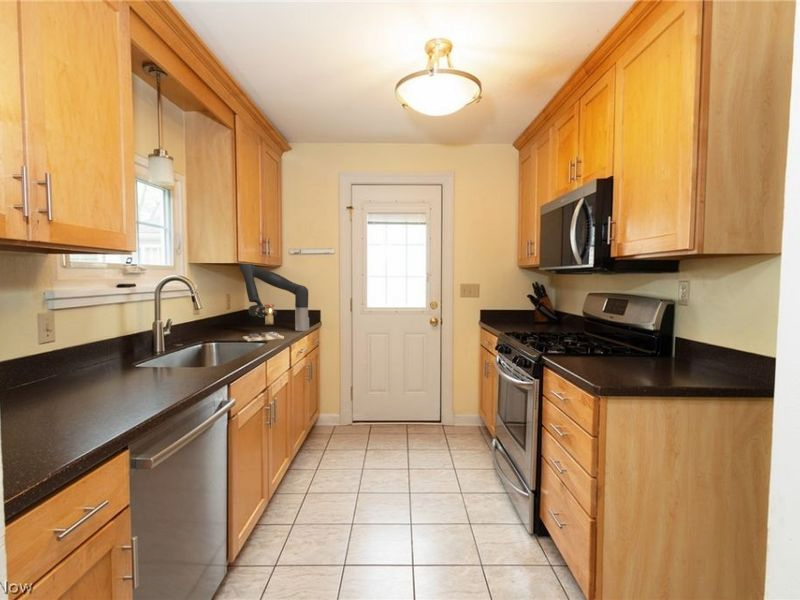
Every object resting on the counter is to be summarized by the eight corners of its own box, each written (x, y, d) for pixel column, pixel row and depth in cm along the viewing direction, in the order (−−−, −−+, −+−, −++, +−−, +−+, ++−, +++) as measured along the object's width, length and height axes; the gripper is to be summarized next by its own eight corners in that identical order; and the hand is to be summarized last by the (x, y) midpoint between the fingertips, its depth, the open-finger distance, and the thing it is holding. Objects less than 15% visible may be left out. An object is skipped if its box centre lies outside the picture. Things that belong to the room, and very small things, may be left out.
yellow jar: (272, 323, 260) (272, 304, 259) (275, 324, 255) (275, 305, 254) (263, 323, 257) (263, 304, 256) (265, 324, 252) (266, 305, 251)
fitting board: (277, 335, 266) (277, 331, 266) (283, 338, 255) (283, 333, 255) (242, 338, 253) (242, 333, 253) (248, 341, 243) (248, 335, 243)
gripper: (252, 306, 263) (259, 308, 249) (273, 306, 271) (281, 308, 257) (252, 317, 264) (258, 320, 250) (273, 317, 272) (281, 319, 258)
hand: (270, 314), depth 254 cm, fingers closed on yellow jar, 5 cm apart
